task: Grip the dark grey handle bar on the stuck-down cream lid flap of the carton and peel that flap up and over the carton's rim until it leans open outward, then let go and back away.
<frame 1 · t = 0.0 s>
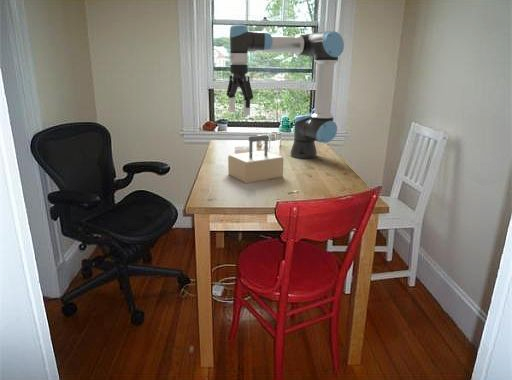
hand: (239, 113, 164), 28 cm above the table, fingers open, 13 cm apart
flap: (260, 147, 161), point 14 cm above the table, hinge at 0.0°
white cup: (242, 167, 183), on the table
carton: (255, 175, 169), on the table
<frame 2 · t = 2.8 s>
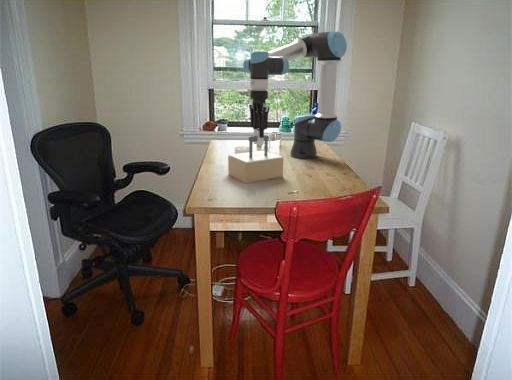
hand: (258, 143, 162), 16 cm above the table, fingers closed on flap, 2 cm apart
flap: (260, 147, 161), point 14 cm above the table, hinge at 0.0°, touching gripper
everything else where it was.
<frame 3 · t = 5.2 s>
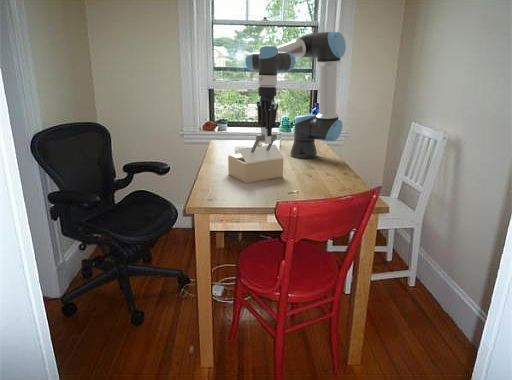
hand: (265, 142, 156), 17 cm above the table, fingers closed on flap, 2 cm apart
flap: (264, 146, 157), point 15 cm above the table, hinge at 36.3°, touching gripper
everything else where it was.
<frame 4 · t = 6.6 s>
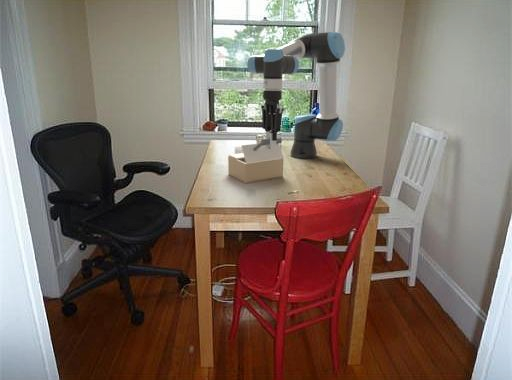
hand: (270, 147, 153), 16 cm above the table, fingers closed on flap, 2 cm apart
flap: (268, 148, 156), point 15 cm above the table, hinge at 58.2°, touching gripper
everything else where it was.
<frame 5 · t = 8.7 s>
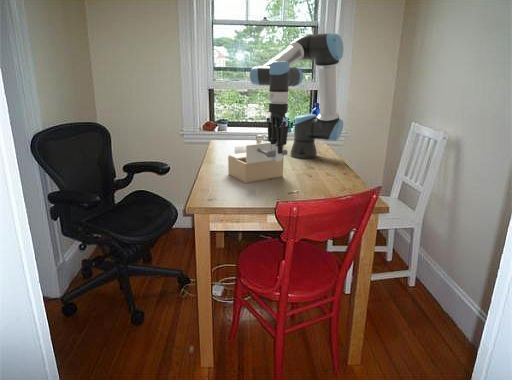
hand: (276, 160, 151), 11 cm above the table, fingers closed on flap, 2 cm apart
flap: (271, 154, 154), point 13 cm above the table, hinge at 91.9°, touching gripper
everything else where it was.
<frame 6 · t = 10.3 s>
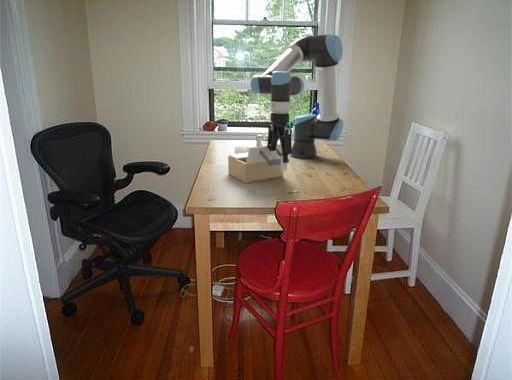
hand: (278, 167, 151), 8 cm above the table, fingers open, 7 cm apart
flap: (272, 159, 154), point 11 cm above the table, hinge at 111.2°, touching gripper, hand
everything else where it was.
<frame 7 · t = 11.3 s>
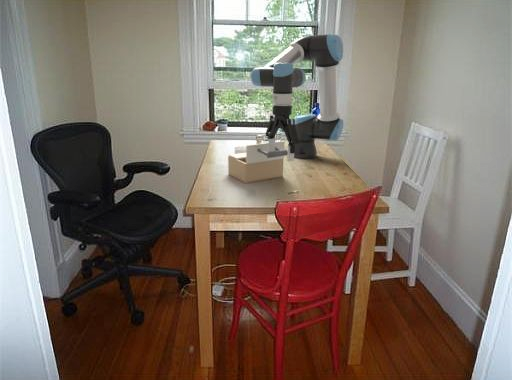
hand: (280, 157, 148), 13 cm above the table, fingers open, 13 cm apart
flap: (271, 154, 154), point 13 cm above the table, hinge at 93.0°
everything else where it was.
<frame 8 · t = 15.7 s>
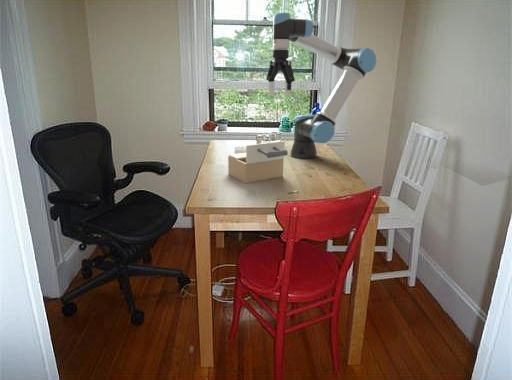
hand: (279, 96, 176), 35 cm above the table, fingers open, 13 cm apart
nothing on the table moved.
at the end: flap at +93° (first picture: +0°); the gripper is holding nothing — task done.
